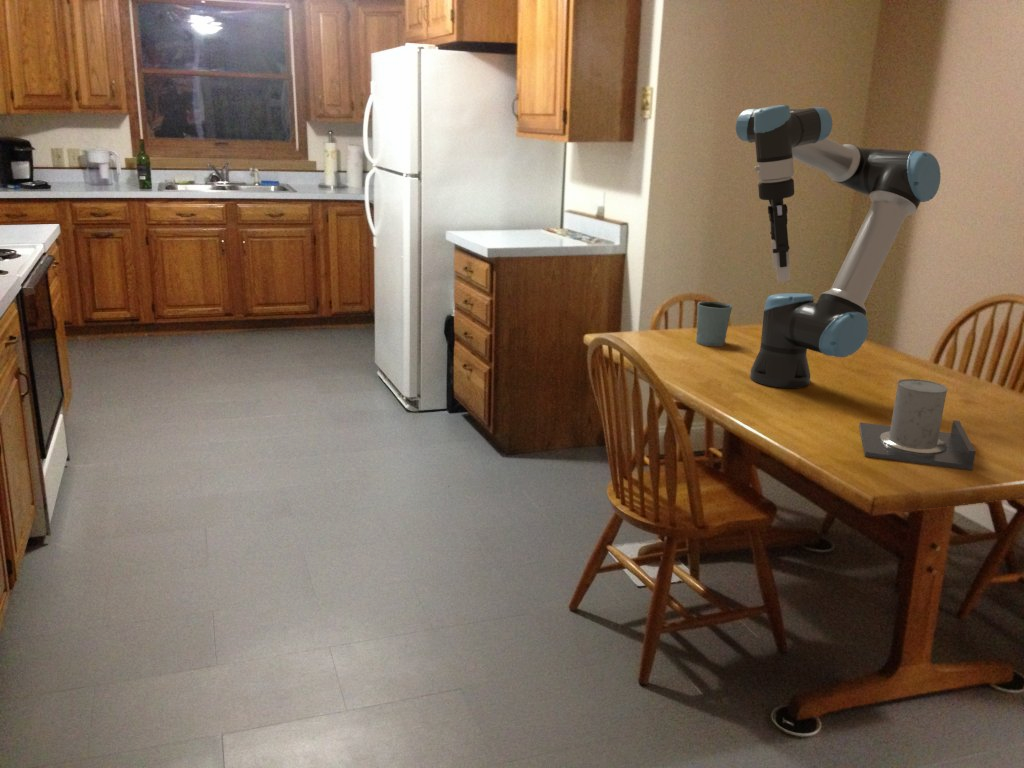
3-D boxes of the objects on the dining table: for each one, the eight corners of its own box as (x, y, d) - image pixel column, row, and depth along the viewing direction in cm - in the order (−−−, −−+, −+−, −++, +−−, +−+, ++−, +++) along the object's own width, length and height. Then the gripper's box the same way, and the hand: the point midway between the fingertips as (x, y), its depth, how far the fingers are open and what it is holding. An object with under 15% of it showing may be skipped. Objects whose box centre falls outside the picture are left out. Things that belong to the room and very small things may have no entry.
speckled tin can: (943, 441, 188) (953, 386, 185) (928, 452, 181) (939, 395, 178) (897, 430, 194) (906, 376, 191) (881, 440, 187) (890, 385, 184)
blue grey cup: (688, 339, 276) (691, 301, 272) (717, 338, 279) (721, 300, 275) (704, 347, 266) (708, 308, 263) (734, 346, 269) (738, 307, 266)
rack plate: (859, 426, 200) (861, 409, 199) (956, 438, 195) (959, 420, 193) (864, 456, 182) (867, 438, 181) (972, 470, 176) (975, 451, 175)
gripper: (755, 175, 207) (761, 264, 214) (761, 189, 184) (767, 288, 191) (788, 170, 205) (793, 260, 212) (798, 184, 182) (804, 285, 189)
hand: (781, 274), depth 201 cm, fingers open, 13 cm apart
